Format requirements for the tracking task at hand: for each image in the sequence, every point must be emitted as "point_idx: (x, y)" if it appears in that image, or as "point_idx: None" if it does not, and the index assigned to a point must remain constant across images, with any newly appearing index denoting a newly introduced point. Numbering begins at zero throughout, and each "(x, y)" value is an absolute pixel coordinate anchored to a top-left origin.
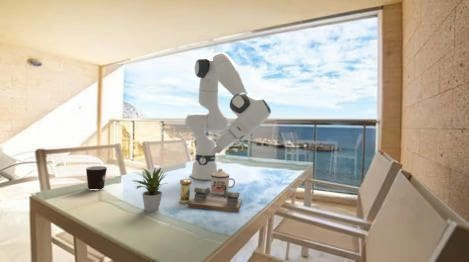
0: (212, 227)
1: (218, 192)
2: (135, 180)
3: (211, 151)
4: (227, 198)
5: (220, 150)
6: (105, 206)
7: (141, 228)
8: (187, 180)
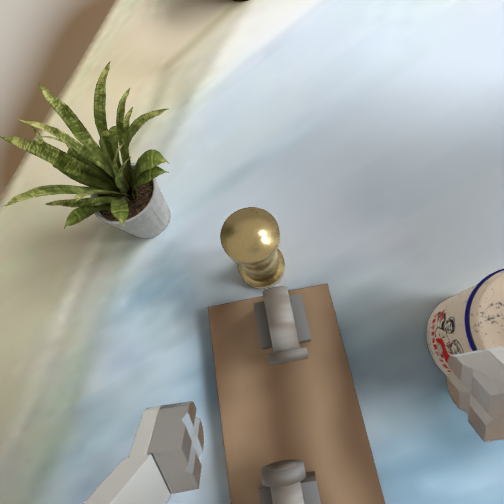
0: (61, 490)
1: (434, 355)
2: (38, 133)
3: (141, 419)
4: (263, 490)
5: (484, 429)
6: (129, 110)
7: (18, 285)
8: (255, 239)
